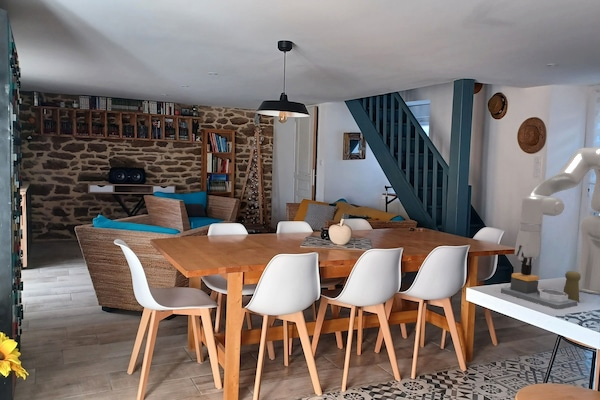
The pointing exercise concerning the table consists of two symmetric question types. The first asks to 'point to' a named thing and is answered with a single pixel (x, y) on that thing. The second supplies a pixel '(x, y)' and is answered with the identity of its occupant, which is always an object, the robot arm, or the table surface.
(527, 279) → the button
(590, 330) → the table surface
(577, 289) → the cork
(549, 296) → the ring
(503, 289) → the grey base plate
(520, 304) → the table surface
